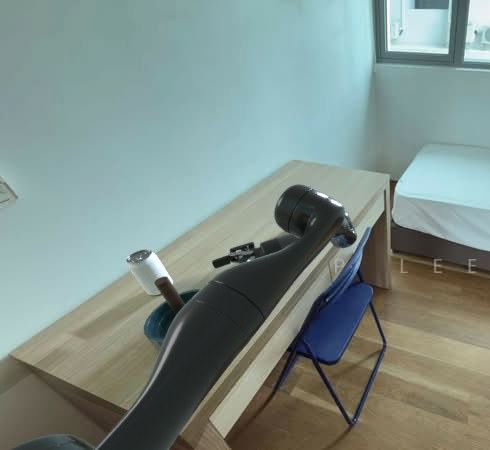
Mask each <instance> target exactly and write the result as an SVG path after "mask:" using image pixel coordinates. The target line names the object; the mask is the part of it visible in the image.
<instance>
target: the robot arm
mask: <svg viewBox="0 0 490 450" xmlns="http://www.w3.org/2000/svg"><path fill="white" fill-rule="evenodd" d="M273 219H274V222H275V223H276V225H277V226H278V227H279V229H281V230H282V231H284V232H285V233H286V234H283V235H280V236H276V237H273V238H270V239H267V240H265V241H262V242H260V243H259V247H256V244H255V242H254V241H250V242H247V243H244V244H241V245H237V246H234V247H231V248H229V252H228V253H227V255H224V256H221V257H218V258H215V259H213V260H211V265H212V266H213V268H214V269H220V268H223V267H225V266H227V265H230V264H232V263H236V264H235V265H233V266H230V267H227V268H226V269H224V270H222V271H220V272H218V273H217V274H216V275H215V276H214V277H213V278H211V279H210V280H209V281H208V282H207V283H206V284H205V285H204V286H203V287H202V288H200V289H201V290H200V291H199V292H198V293H197V294H196V295H195V296H194V297H193V298H192V299H190V300H189V301H188V302H187V303H186V304H185V306H184V307H183V308H182V309H181V310H180V311H179V312H178V314H177V315H176V316H175V318H174V319H173V321H172V323H171V325H170V327H169V329H168V331H167V334H166V336H165V338H164V341H163V344H162V346H161V349H160V351H159V352H158V355H157V358H156V360H155V363H154V365H153V368H152V370H151V373H150V375H149V377H148V379H147V381H146V383H145V385H144V386H143V388H142V390H141V392H140V393H139V395H138V396H137V398H136V399H135V400H134V402H133V403H132V405H131V406H130V407H129V408H128V410H127V411H126V412H125V413H124V414H123V416H121V418H120V419H119V420H118V421H117V423H116V424H114V426H113V427H112V428H111V429H110V430H109V432H108V433H107V434H105V436H104V437H103V438H102V439H101V440H100V441H99V442H98V443H97V444H96V445H94V444H92V443H91V442H89V441H87V440H86V439H84V438H83V437H80V436H78V435H75V434H69V433H54V434H48V435H42V436H38V437H36V438H32V439H30V440H27V441H24V442H22V443H20V444H17V445H15V446H13V447H11V448H9V449H8V450H170V449H171V447H172V446H173V444H174V443H175V442H176V440H177V439H178V437H179V435H180V434H181V432H182V431H183V430H184V429H185V427H186V425H187V424H188V422H189V420H190V419H191V417H192V416H193V415H194V414H195V413H196V411H197V410H198V408H199V407H200V406H201V404H202V403H203V402H204V400H205V399H206V397H207V396H208V395H209V393H210V392H211V391H212V389H213V388H214V386H216V384H217V382H218V381H219V380H220V379H221V377H222V376H223V375H224V374H225V372H226V371H227V369H228V368H230V366H231V364H232V363H233V362H234V361H235V359H236V358H237V357H238V355H240V353H241V352H242V351H243V350H244V349H245V348H246V346H247V345H248V344H249V343H250V342H251V340H252V339H253V338H254V336H255V335H256V334H257V332H258V331H259V330H260V329H261V328H262V326H264V323H266V322H267V320H268V318H269V316H270V315H271V314H272V313H273V311H274V310H275V308H276V307H277V305H279V303H280V302H281V300H282V299H283V297H284V296H285V295H286V294H287V292H288V291H289V290H290V289H291V287H292V286H293V285H294V283H295V282H296V281H297V280H298V278H299V277H300V276H301V275H302V274H303V272H304V271H305V270H306V269H307V268H308V267H309V266H310V265H311V264H312V262H313V261H314V260H315V259H316V258H317V257H318V256H319V255H320V253H321V252H323V250H324V249H325V248H327V246H328V245H329V244H330V243H331V245H332V246H333V247H335V248H337V249H347V248H350V247H351V246H353V245H354V244H355V243H356V241H357V239H358V234H357V231H356V229H355V227H354V224H353V222H352V219H351V216H350V215H349V213H348V212H347V211H346V208H345V206H344V205H343V204H342V203H341V202H340V201H338V200H337V199H334V198H333V197H331V196H329V195H327V194H326V193H323V192H321V191H319V190H318V189H315V188H313V187H311V186H309V185H306V184H301V183H300V184H299V183H296V184H293V185H290V186H288V187H287V188H286V189H285V190H284V191H283V192H282V194H281V195H280V196H279V197H278V200H277V201H276V204H275V206H274V210H273Z"/></svg>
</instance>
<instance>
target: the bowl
mask: <svg viewBox="0 0 490 450" xmlns="http://www.w3.org/2000/svg"><path fill="white" fill-rule="evenodd" d="M201 289H202V288H194V289H190V290H185V291H182V292H180V293H178V294H179V295H180V297H181V298H182V300H183V302H184V303H185V304H186V303H187V302H188V301H189V300H190V299H192V298H193V297H194V296H195V295H196V294H197V293H198V292H199V291H200V290H201ZM175 316H176V314H175V313H174V311H173V310H172V308H171V307H170V306H169V304H168V303H167V301H166V300H165V301H163V302H162V303H160V304H159V305H158V306H157V307H156V308H155V309H153V310H152V312H151V313H150V314H149V315H148V316H147V318H146V320H145V321H144V324H143V326H142V327H143V335H144V336H145V337H146V338H147V340H148V341H149V342H150V343H151V345H152V347H154V348H155V349H156V350H157V351H159V352H160V349H161V346H162V344H163V341H164V338H165V336H166V334H167V331H168V329H169V327H170V325H171V323H172V321H173V319H174V318H175Z"/></svg>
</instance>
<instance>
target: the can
mask: <svg viewBox="0 0 490 450" xmlns="http://www.w3.org/2000/svg"><path fill="white" fill-rule="evenodd" d="M126 263H127V268H128V270H129V271H130V272H131V273H132V275H133V276H134V277H135V279H136V281H137V282H138V283H139V284H140V286H141V287H142V289H143V290H144V291H145V292H146V294H147V295H149V296H160V295H162V294H161V293H160V291H159V290H158V288H157V287H156V285H155V284H154V282H155V281H156V280H157V279H158V278H161V277H168V278H169V280H170V282H171V283H172V285H173V286H174V280H173V278H172V277H171V276H170V274H169V272H168V271H167V269H166V268H165V266H164V265H163V263H162V261H161V260H160V258H159V257H158V254H157V253H155V252H153V251H152V250H151V249H147V248H146V249H140V250H136V251H135V252H133V253H131V254H130V255H129V256H127V258H126Z"/></svg>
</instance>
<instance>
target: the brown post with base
mask: <svg viewBox="0 0 490 450" xmlns="http://www.w3.org/2000/svg"><path fill="white" fill-rule="evenodd" d="M154 284H155V285H156V287H157V288H158V290H159V291H160V293H161V294H160V295H161V296H162V297H163V298H164V300H165V301H167V303H168V304H169V306H170V307H171V308H172V310H173V311H174V313H175V314H176V315H177V314H178V312H179V311H180V310H181V309H182V308H183V307H184V306H185V303H184V302H183V300H182V298H181V297H180V295H179V294H180V293H179V292H178V291H177V289H176V287H175V286H174V284H173V285H172V283H171V282H170V280H169V278H168V277H161V278H158V279H157V280H156V281H155V282H154Z"/></svg>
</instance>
